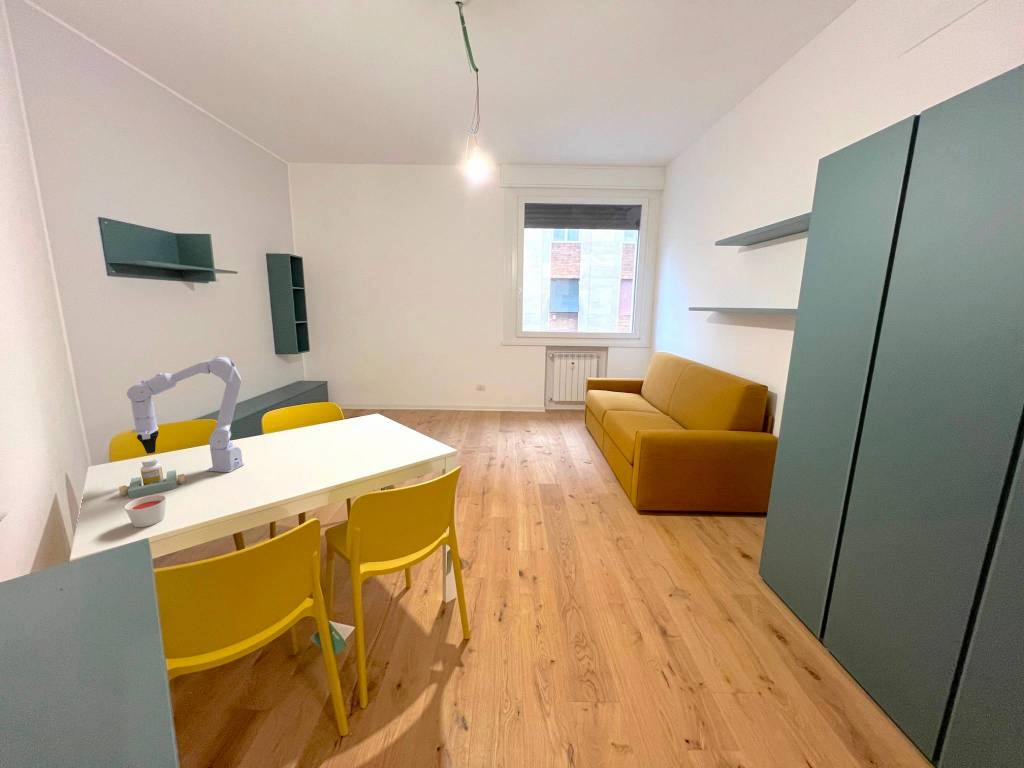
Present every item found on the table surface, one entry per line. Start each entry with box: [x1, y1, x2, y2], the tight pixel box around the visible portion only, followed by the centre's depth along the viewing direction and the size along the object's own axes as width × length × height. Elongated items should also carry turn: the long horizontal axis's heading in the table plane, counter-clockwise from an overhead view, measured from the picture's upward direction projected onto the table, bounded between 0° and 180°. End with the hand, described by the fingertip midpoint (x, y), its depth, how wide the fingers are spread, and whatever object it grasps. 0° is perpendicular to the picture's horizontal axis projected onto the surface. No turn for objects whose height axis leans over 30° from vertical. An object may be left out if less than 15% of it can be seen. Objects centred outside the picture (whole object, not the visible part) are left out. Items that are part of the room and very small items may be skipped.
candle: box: [124, 494, 167, 528], centre depth 117 cm, size 9×9×6 cm
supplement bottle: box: [140, 457, 165, 486], centre depth 139 cm, size 5×5×10 cm
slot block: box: [118, 469, 186, 499], centre depth 139 cm, size 12×17×3 cm
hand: (151, 452), depth 143 cm, fingers closed
